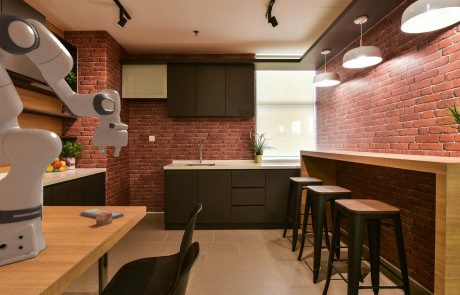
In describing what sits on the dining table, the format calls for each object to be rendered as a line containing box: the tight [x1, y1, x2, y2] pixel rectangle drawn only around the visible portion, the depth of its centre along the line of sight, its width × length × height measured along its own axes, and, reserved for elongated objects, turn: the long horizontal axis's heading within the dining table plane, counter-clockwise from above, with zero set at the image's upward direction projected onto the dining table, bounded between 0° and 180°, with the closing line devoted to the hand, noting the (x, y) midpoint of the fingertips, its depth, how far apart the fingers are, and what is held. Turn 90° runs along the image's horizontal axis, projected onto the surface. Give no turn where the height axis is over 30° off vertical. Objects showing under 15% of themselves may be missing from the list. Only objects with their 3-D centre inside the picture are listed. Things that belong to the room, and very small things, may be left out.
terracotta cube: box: [95, 212, 113, 226], centre depth 113 cm, size 4×4×4 cm
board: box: [80, 208, 124, 220], centre depth 126 cm, size 9×20×2 cm, turn 62°
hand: (109, 156), depth 117 cm, fingers open, 8 cm apart
